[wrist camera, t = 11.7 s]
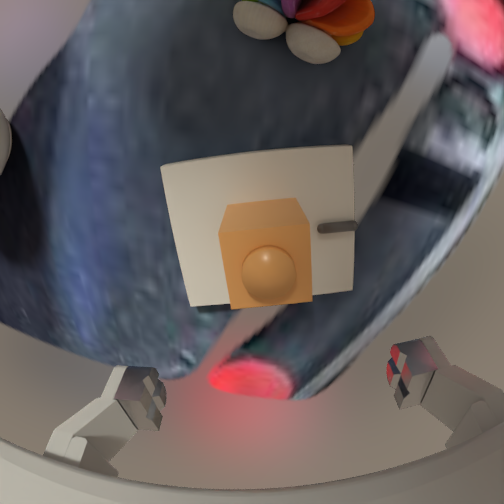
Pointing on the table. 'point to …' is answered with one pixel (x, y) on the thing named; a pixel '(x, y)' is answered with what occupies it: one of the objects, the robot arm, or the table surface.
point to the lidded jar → (4, 141)
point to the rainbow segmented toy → (306, 24)
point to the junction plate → (259, 189)
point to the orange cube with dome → (266, 253)
